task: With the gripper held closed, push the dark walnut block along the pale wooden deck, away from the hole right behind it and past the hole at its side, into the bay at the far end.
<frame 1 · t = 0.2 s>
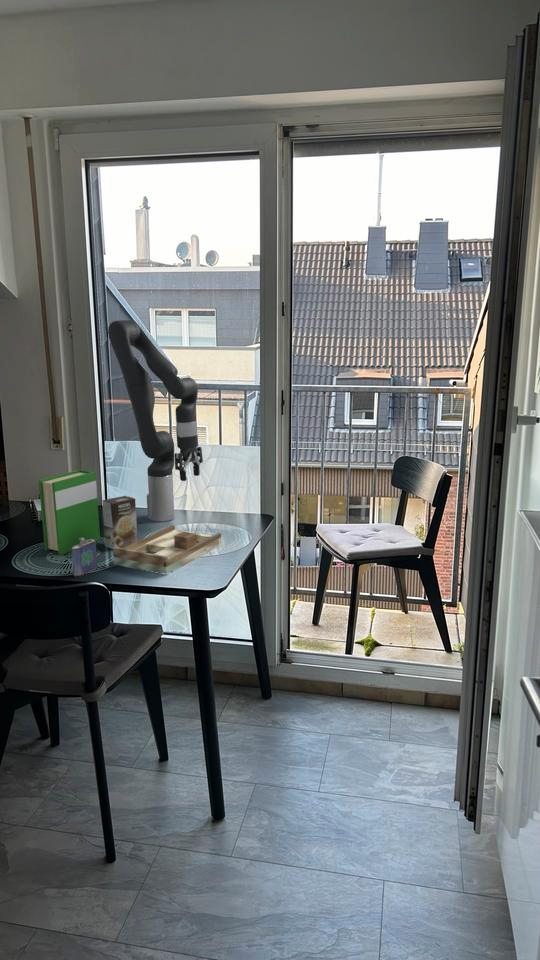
hand: (190, 478, 251), 17 cm above the table, tool pointing down, fingers open, 8 cm apart
flask: (85, 572, 209), on the table
hardback book: (73, 545, 233), on the table
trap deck: (169, 554, 223), on the table
coffee box: (121, 545, 232), on the table
walnut block: (185, 546, 223), point 2 cm above the table, touching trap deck
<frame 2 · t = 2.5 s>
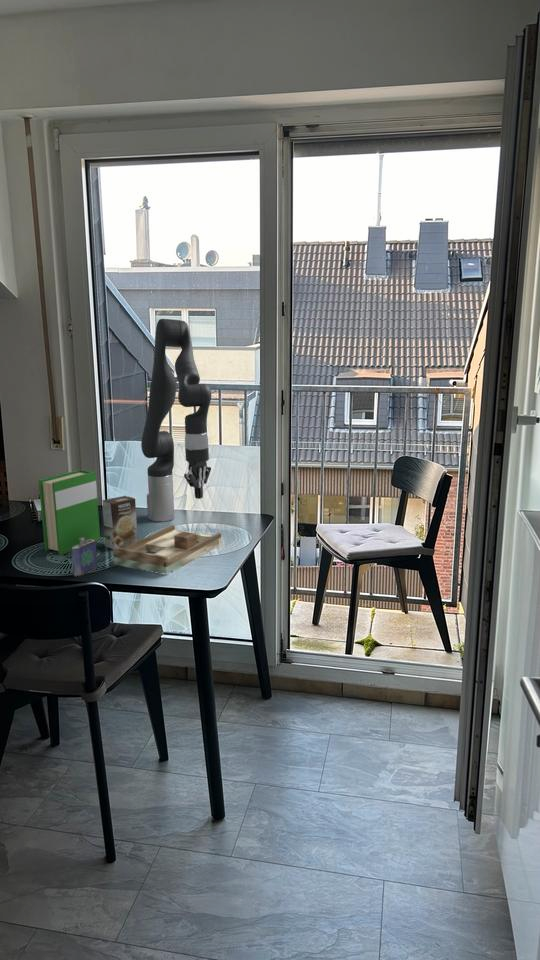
hand: (198, 498, 227), 17 cm above the table, tool pointing down, fingers closed
nothing on the table moved.
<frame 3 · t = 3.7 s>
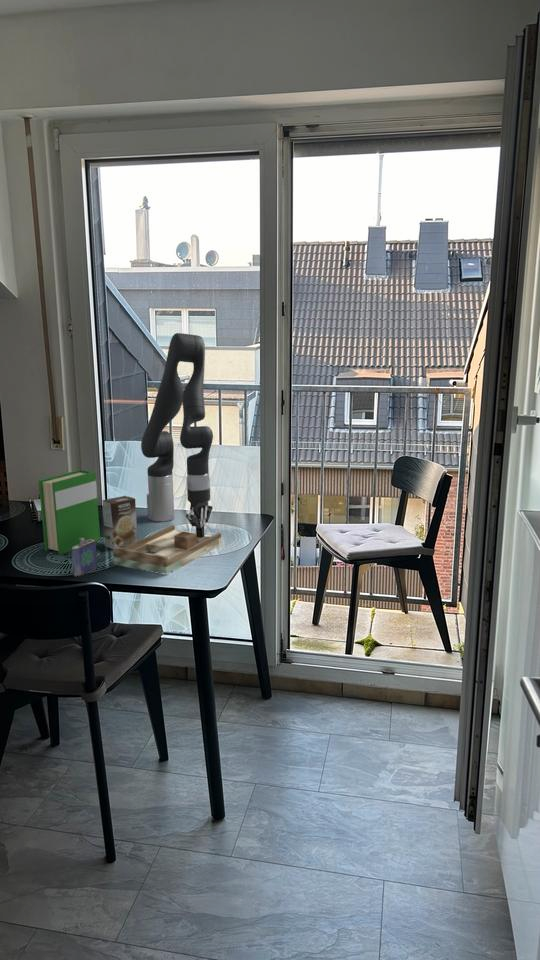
hand: (200, 536, 230), 3 cm above the table, tool pointing down, fingers closed
nothing on the table moved.
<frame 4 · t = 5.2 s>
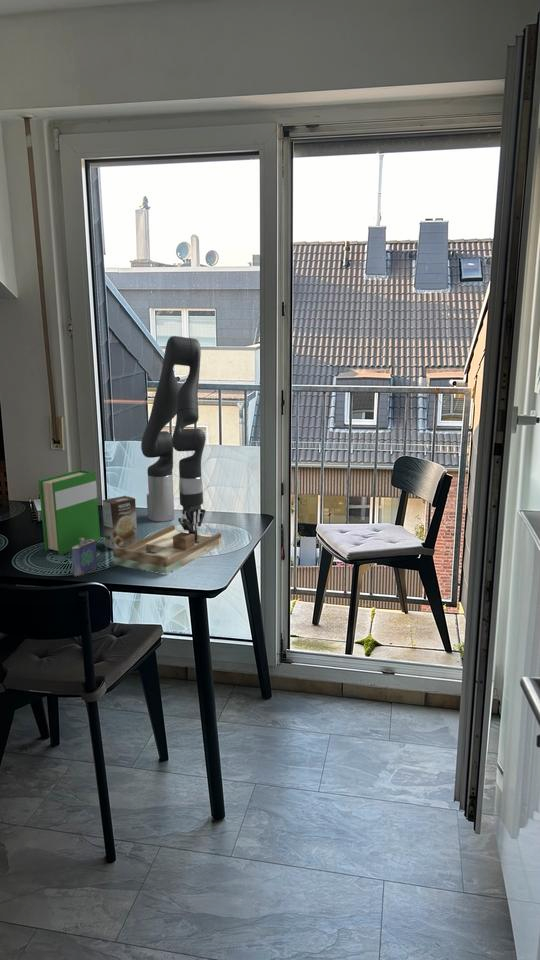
hand: (193, 540, 226), 3 cm above the table, tool pointing down, fingers closed
walnut block: (184, 547, 222), point 3 cm above the table, touching gripper
everything else where it was.
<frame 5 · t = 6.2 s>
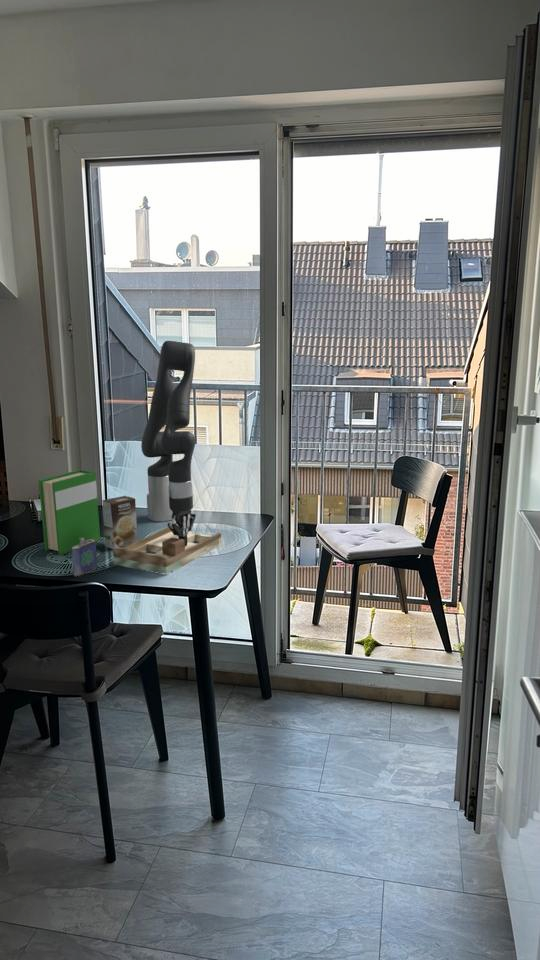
hand: (183, 546, 221), 3 cm above the table, tool pointing down, fingers closed
walnut block: (173, 552, 217), point 3 cm above the table, touching gripper
everything else where it was.
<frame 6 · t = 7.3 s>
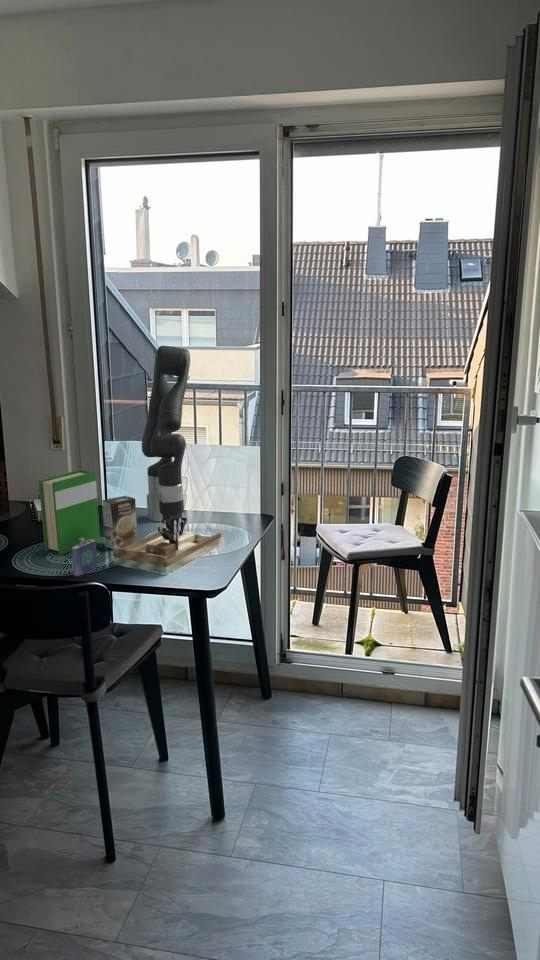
hand: (174, 550, 217), 3 cm above the table, tool pointing down, fingers closed
walnut block: (164, 557, 213), point 2 cm above the table, touching gripper, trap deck
everything else where it was.
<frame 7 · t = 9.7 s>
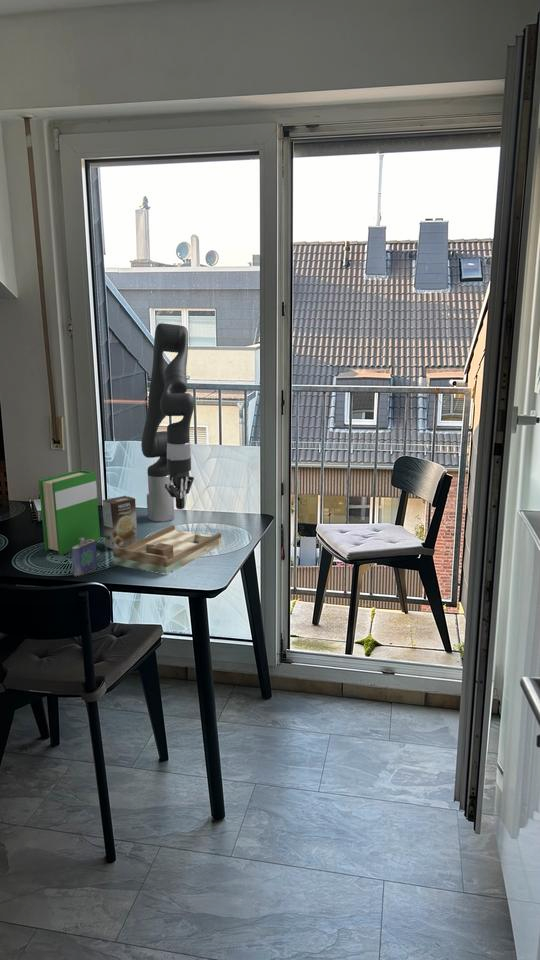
hand: (180, 508, 222), 15 cm above the table, tool pointing down, fingers closed
walnut block: (162, 558, 212), point 2 cm above the table, touching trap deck
everything else where it was.
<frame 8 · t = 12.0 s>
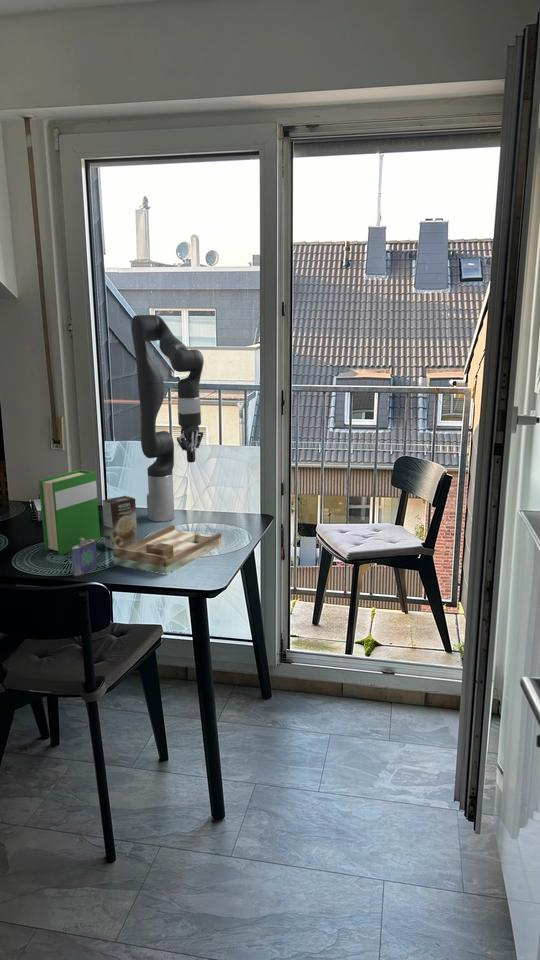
hand: (191, 462, 232), 27 cm above the table, tool pointing down, fingers closed
nothing on the table moved.
at the end: walnut block 1.1 cm from the target spot on the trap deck, point 2.5 cm above the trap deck's base; walnut block tilted 0° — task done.
